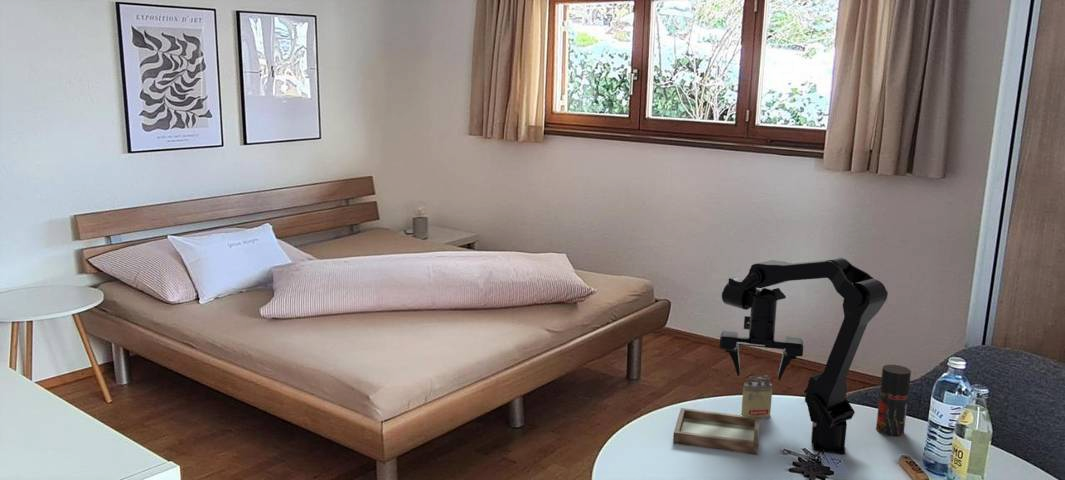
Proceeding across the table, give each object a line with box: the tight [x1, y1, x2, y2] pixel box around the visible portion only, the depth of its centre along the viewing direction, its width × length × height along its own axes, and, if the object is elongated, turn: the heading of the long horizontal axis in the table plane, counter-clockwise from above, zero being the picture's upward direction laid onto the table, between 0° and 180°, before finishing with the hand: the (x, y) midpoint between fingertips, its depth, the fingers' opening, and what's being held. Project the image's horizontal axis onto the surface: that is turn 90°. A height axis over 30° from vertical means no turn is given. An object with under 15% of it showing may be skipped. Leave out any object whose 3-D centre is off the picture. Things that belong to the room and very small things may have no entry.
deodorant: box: [875, 364, 912, 438], centre depth 193 cm, size 6×6×15 cm
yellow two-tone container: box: [740, 375, 773, 419], centre depth 201 cm, size 7×4×10 cm, turn 99°
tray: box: [672, 407, 761, 456], centre depth 190 cm, size 18×14×3 cm
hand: (758, 377), depth 200 cm, fingers open, 9 cm apart
